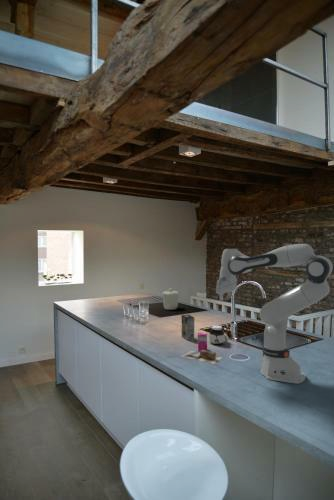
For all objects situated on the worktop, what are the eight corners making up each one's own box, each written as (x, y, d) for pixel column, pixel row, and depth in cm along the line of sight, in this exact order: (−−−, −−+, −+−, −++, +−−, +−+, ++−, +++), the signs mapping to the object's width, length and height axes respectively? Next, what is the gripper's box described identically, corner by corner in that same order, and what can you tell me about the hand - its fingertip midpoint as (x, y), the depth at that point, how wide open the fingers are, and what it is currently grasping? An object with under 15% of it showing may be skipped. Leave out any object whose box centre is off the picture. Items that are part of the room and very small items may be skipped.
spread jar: (208, 344, 234) (208, 327, 233) (213, 339, 244) (213, 323, 243) (224, 346, 228) (224, 329, 227) (230, 342, 238) (230, 325, 237)
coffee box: (181, 336, 251) (181, 315, 250) (189, 335, 253) (189, 314, 253) (186, 340, 242) (186, 317, 242) (194, 339, 245) (194, 316, 244)
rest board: (222, 358, 205) (222, 357, 205) (213, 365, 195) (213, 363, 195) (191, 352, 217) (191, 350, 217) (181, 357, 207) (181, 356, 207)
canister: (176, 311, 337) (176, 290, 337) (159, 310, 344) (159, 289, 343) (181, 307, 354) (181, 287, 354) (165, 306, 361) (165, 286, 360)
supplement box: (197, 349, 221) (197, 332, 221) (207, 350, 221) (207, 332, 220) (197, 352, 216) (197, 335, 215) (207, 353, 215) (207, 335, 215)
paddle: (217, 357, 204) (217, 351, 204) (211, 361, 198) (211, 354, 198) (192, 352, 214) (192, 346, 214) (186, 356, 208) (186, 349, 207)
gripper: (224, 278, 185) (222, 303, 187) (239, 275, 202) (237, 298, 203) (214, 276, 189) (211, 301, 190) (229, 273, 206) (227, 295, 207)
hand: (224, 299), depth 197 cm, fingers open, 8 cm apart
